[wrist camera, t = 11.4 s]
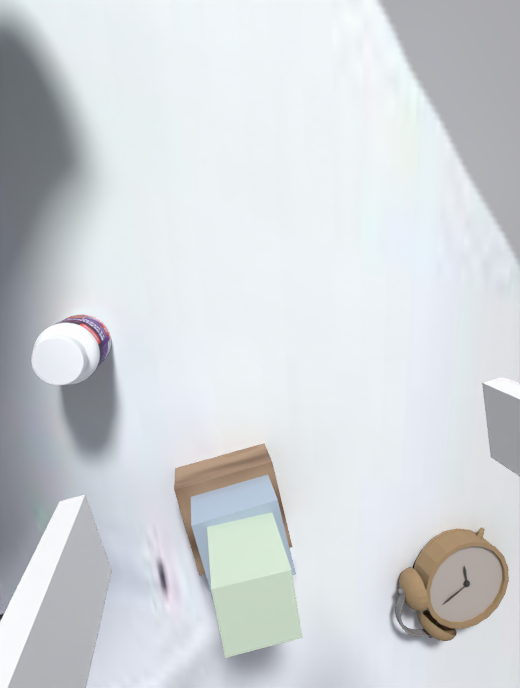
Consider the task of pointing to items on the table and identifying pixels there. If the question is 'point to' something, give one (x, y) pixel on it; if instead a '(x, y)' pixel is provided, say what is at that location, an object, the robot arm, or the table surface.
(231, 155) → the table surface
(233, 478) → the tower base
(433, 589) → the alarm clock
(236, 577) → the green block
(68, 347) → the pill bottle
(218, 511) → the tower top
